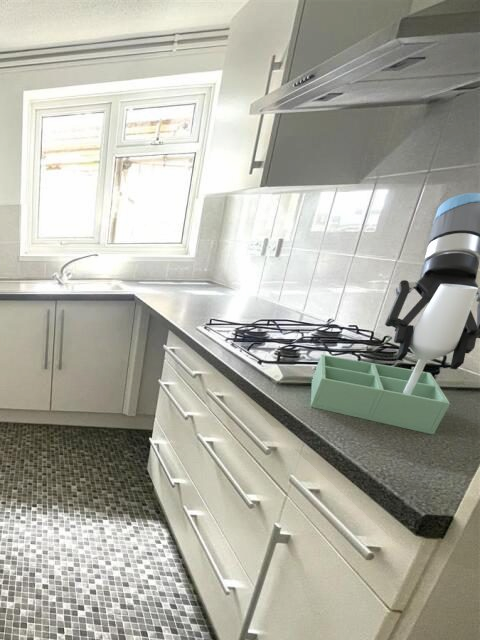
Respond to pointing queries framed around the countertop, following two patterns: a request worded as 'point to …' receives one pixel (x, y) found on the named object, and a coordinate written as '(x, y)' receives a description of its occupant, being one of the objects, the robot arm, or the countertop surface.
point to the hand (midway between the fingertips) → (428, 361)
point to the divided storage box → (378, 394)
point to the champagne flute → (440, 326)
